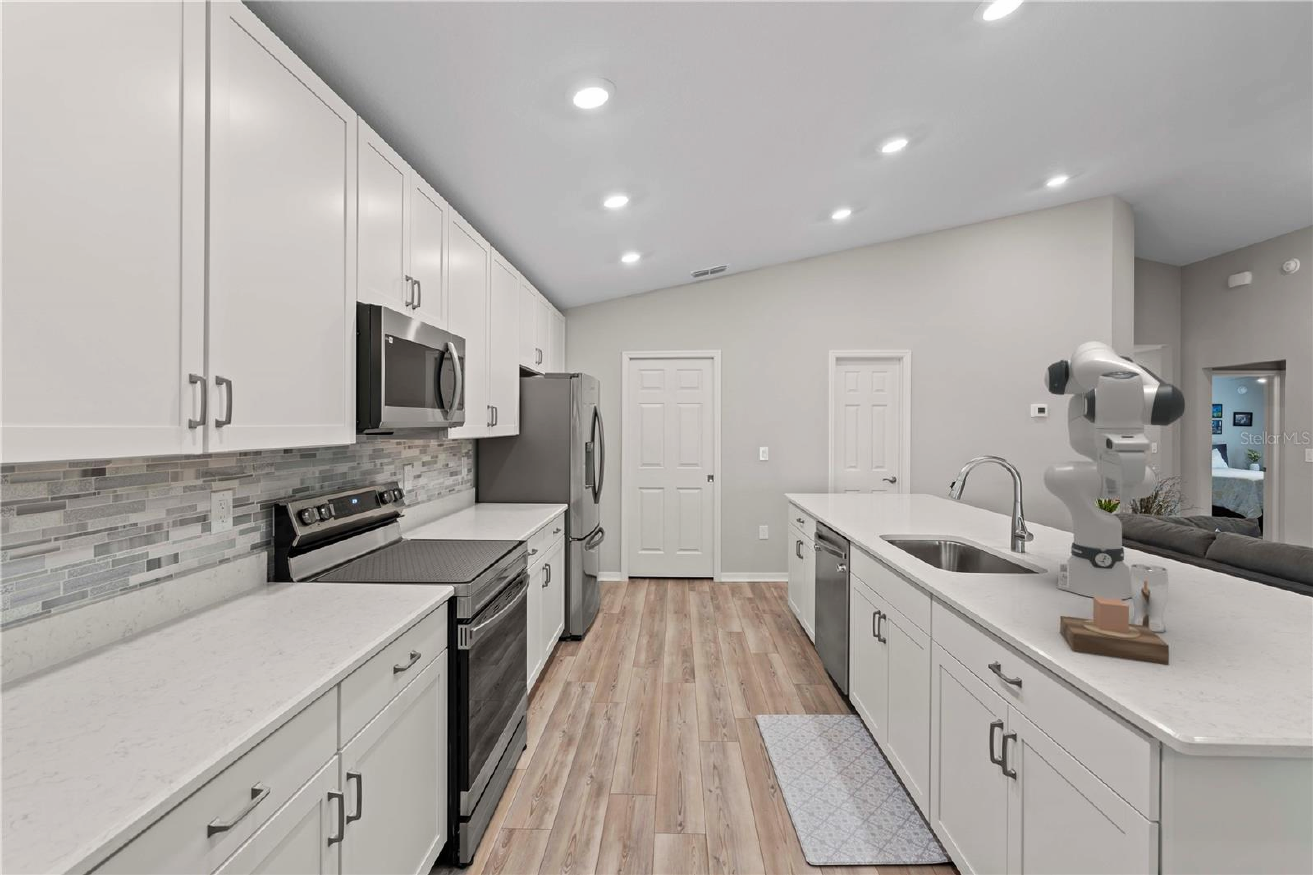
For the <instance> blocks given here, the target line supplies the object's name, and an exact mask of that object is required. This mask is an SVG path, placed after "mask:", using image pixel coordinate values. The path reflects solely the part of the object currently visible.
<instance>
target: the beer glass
mask: <svg viewBox="0 0 1313 875" xmlns="http://www.w3.org/2000/svg"><path fill="white" fill-rule="evenodd" d="M1130 567H1131V568H1130V572H1131V573H1130V590H1131V595H1132V597H1131V598H1132V605H1133V618H1132V622H1131V624H1134V625H1142V626H1147V627H1148V628H1149V629H1150V630H1152V631H1153V632H1154V633H1157V632H1158V633H1161V632H1162V633H1165V632H1166V625H1165V622H1164V615H1165V614H1164V612H1165V608H1166V604H1167V601H1168V595H1169V576H1168V575H1169V574H1168V568H1165V567H1162V566H1159V565H1154V564H1153V565H1152V564H1145V563H1144V564H1143V563H1133V564H1131V565H1130Z"/></svg>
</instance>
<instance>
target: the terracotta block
mask: <svg viewBox="0 0 1313 875" xmlns="http://www.w3.org/2000/svg"><path fill="white" fill-rule="evenodd" d="M1092 598H1093V604H1092V607H1093V609H1092V610H1093V611H1092V616H1093V617H1092V620H1093V623H1094V624H1095V625H1096V626H1097V627H1098V628H1099V629H1100V630H1105V631H1113V632H1121V633H1129V624H1130V606H1129V605H1128V604H1127V603H1126V602H1125V601H1123V599H1111V598H1101V597H1092Z"/></svg>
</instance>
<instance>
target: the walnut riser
mask: <svg viewBox="0 0 1313 875" xmlns="http://www.w3.org/2000/svg"><path fill="white" fill-rule="evenodd" d="M1059 622H1060V623H1059V624H1060V625H1059V626H1060V628H1059V630H1060V633H1061V636H1062V637H1063V636H1064V637H1063V638H1064V640H1065V641H1066V642H1067V644H1068V646H1069V647H1070V648H1071V650H1072V651H1073V652H1077V653H1083V654H1090V655H1098V656H1103V655H1104V656H1105V657H1110V658H1111V657H1112V658H1119V659H1126V660H1132V659H1133V661H1139V660H1140V662H1146V663H1147V662H1149V663H1154V664H1163V665H1170V660H1169V659H1170V645H1169V644H1168V643H1167V642H1165V641H1164V640H1163V639H1162V638H1161V637H1160V636H1159V635H1157V634H1156V632H1153V631H1152V630H1150V629H1149V628H1148V627H1147V626H1142V625H1134V624H1132V623H1131V624H1130V623H1129V633H1121V632H1113V631H1105V630H1100V629H1099V628H1098V627H1097V626H1096V625H1095V624H1094V623H1093V619H1090V618H1081V617H1075V616H1074V617H1073V616H1064V615H1060V621H1059Z"/></svg>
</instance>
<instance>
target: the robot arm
mask: <svg viewBox="0 0 1313 875" xmlns="http://www.w3.org/2000/svg"><path fill="white" fill-rule="evenodd" d="M1044 384H1045V387H1046V388H1047V390H1048V392H1049V393H1050V394H1052V395H1058V396H1065V395H1073V396H1072V397H1071V398H1070V400H1069V403H1068V409H1067V425H1068V426H1067V427H1068V428H1067V429H1068V436H1069V444H1070V446H1071V448H1072V449H1073V450H1074V451H1075V452H1076V453H1077V454H1079V455H1080V456H1084V457H1086V458H1088V459H1090V460H1092V461H1080V460H1078V461H1076V460H1074V461H1073V460H1072V461H1071V460H1070V461H1061V462H1055V463H1052V464H1050V465H1049V466H1048V467H1047V468H1046V470H1045V472H1044V474H1043V482H1044V486H1045V488H1046V489H1047V490H1048V491H1049V493H1051V494H1052V495H1054V497H1056V498H1058V499H1059V500H1060V501H1061V502H1062V503H1063V504H1064V505H1065V506H1066V508H1067V510H1068V511H1069V513H1070V516H1071V519H1072V520H1071V521H1072V526H1073V542H1072V543H1071V548H1070V550H1071V552H1070V553H1071V556H1070V557H1069V559H1067V561H1066V563H1063V564H1062V563H1061V564H1060V566H1059V568H1060V570H1059V571H1060V572H1062V573H1063V574H1059V575H1057V588H1058V590H1062V591H1067V592H1071V593H1073V594H1078V595H1081V596H1086V597H1089V598H1090V597H1091V598H1093V597H1101V598H1111V599H1121V600H1127V599H1130V598H1132V595H1131V590H1130V573H1131V568H1130V567H1129V566H1128V565H1127V564H1125V561H1124V560H1125V551H1124V550H1125V548H1124V547H1123V546H1122V545H1123V523H1122V521H1121V519H1119V517H1117V516H1116V515H1115V514H1113V513H1111V512H1108V511H1106V510H1104V509H1101V508H1100V507H1098V506H1097V504H1096V500H1116V501H1117V500H1119V501H1120V502H1122V503H1130V502H1131V501H1132V500H1138V499H1146V498H1148V497H1150V495H1152V494H1153V493H1154V491H1155V490H1156V488H1157V482H1158V481H1157V477H1156V474H1155V473H1154V471H1153V469H1151V467H1149V466H1148V465H1147V453H1146V451H1147V452H1149V451H1150V450H1151V449H1150V448H1151V446H1150V445H1151V443H1150V441H1149V440H1148V439H1147V438H1146V436H1145V435H1146V434H1145V425H1146V426H1147V425H1148V426H1149V425H1151V426H1163V427H1167V426H1170V425H1171V424H1174V422H1176V421H1178V420H1179V419H1180V418H1182V416H1183V415H1184V412H1185V408H1186V404H1185V401H1186V400H1185V396H1184V394H1183V392H1182V390H1180V389H1179V388H1178V387H1177V386H1175V385H1174V384H1172V383H1168V382H1166V381H1164V380H1163V379H1161V378H1160V377H1159V376H1157V375H1156V374H1155V373H1154V372H1153V371H1151V370H1150V369H1148V368H1147V367H1145V366H1144V365H1141V364H1138V363H1135V362H1134V361H1133V360H1132V359H1131V358H1130V357H1129V356H1125V355H1124V356H1122V355H1121V356H1120V355H1118V353H1117V352H1116V350H1114V349H1113V348H1112V347H1111V346H1109V345H1108V344H1106V343H1104V342H1102V341H1098V340H1097V341H1096V340H1095V341H1094V340H1093V341H1092V340H1091V341H1087V342H1083V343H1082V344H1080V345H1078V346H1077V347H1076V348H1075V350H1073V352H1072V355H1071V359H1069V360H1067V359H1066V360H1065V359H1061V360H1060V361H1057V362H1055V363H1052V364H1051V365H1049V366H1048V367H1047V370H1046V371H1045V373H1044Z"/></svg>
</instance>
